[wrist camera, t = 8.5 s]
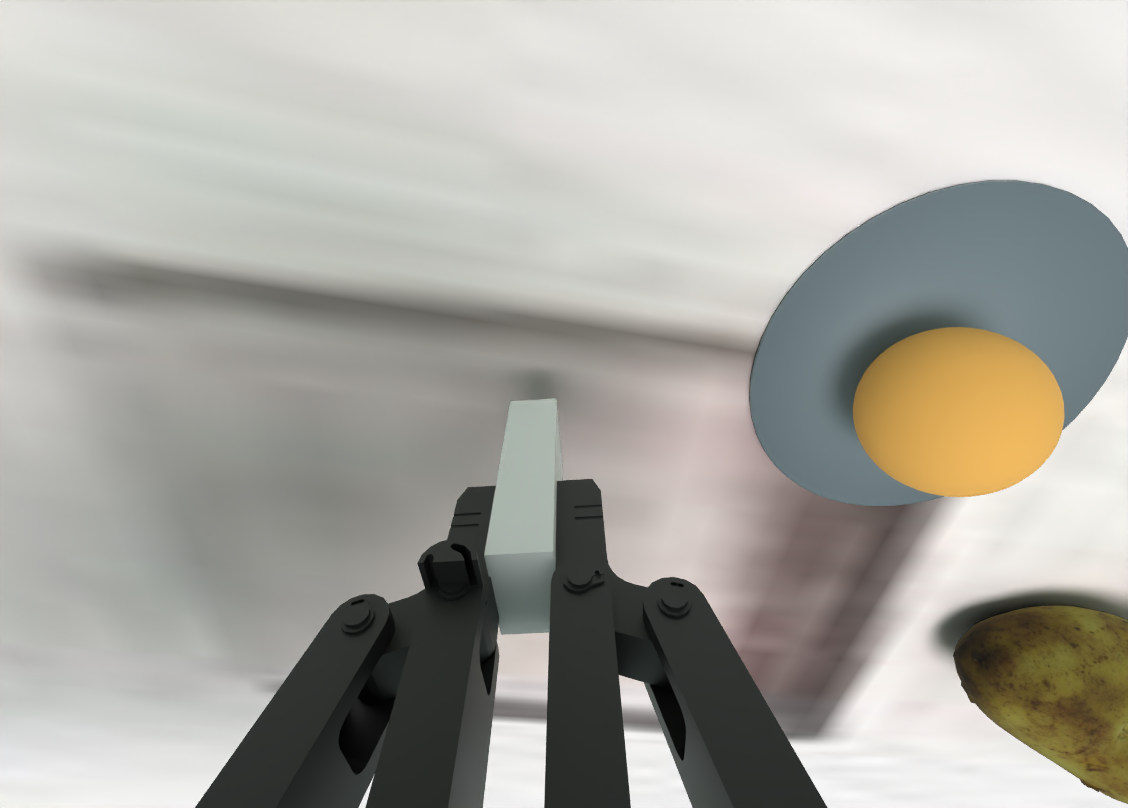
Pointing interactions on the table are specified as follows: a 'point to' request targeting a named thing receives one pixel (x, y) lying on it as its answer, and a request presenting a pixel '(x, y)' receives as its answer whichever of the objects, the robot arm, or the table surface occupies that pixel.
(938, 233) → the disc
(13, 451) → the table surface
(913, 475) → the ball
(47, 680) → the table surface
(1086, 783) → the potato
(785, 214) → the table surface
